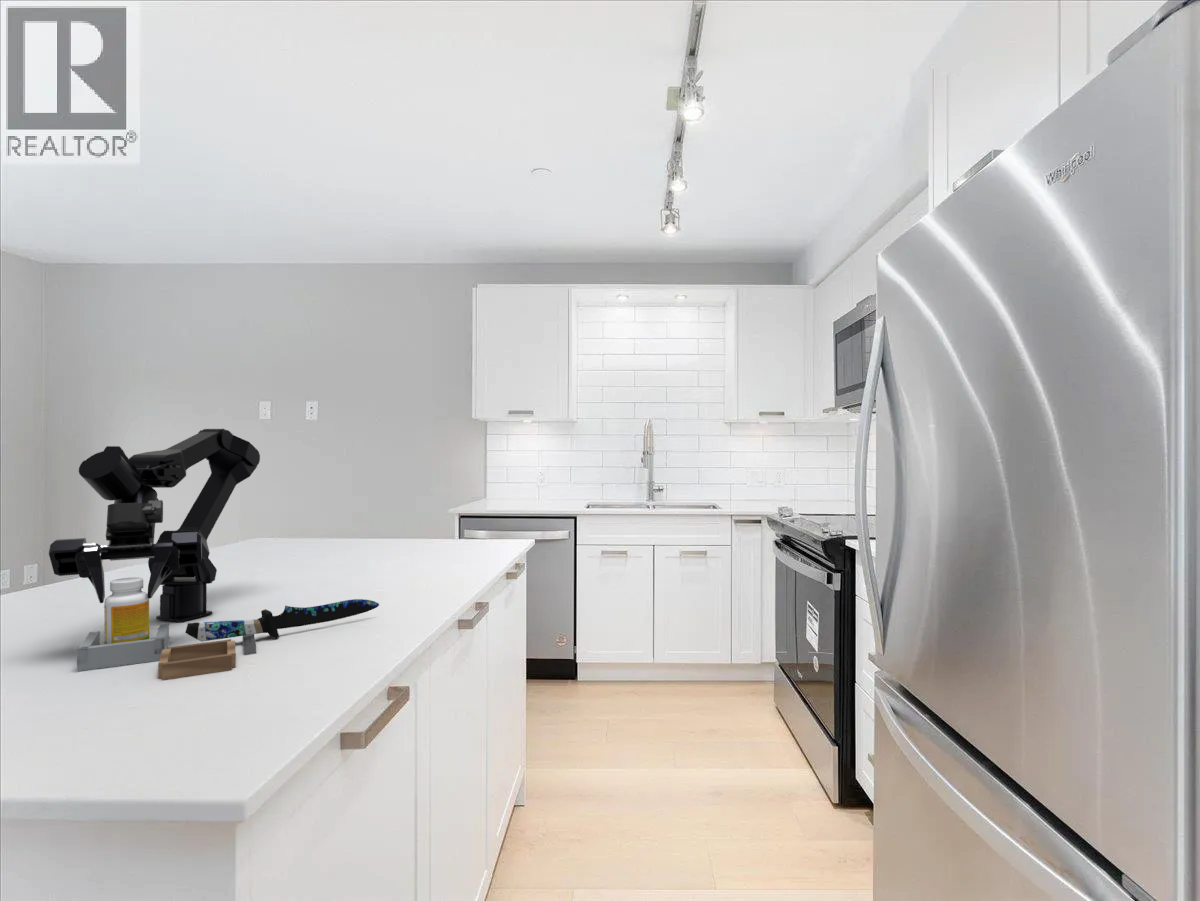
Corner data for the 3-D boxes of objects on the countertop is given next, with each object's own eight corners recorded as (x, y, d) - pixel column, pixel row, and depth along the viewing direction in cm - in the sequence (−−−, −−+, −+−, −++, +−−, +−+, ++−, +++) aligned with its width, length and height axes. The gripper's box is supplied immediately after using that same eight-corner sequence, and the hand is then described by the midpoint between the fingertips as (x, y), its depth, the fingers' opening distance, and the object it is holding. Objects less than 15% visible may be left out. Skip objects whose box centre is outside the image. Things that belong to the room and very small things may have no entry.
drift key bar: (242, 641, 104) (242, 635, 104) (253, 639, 104) (253, 633, 104) (243, 654, 97) (244, 647, 97) (256, 653, 98) (256, 646, 98)
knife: (186, 653, 96) (187, 623, 96) (182, 648, 99) (183, 619, 99) (384, 622, 117) (385, 597, 117) (377, 618, 119) (378, 594, 119)
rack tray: (89, 652, 98) (89, 632, 98) (169, 642, 103) (169, 623, 103) (76, 671, 89) (76, 649, 89) (164, 659, 94) (164, 639, 94)
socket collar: (163, 661, 93) (163, 647, 93) (234, 652, 98) (234, 638, 98) (157, 680, 86) (157, 665, 86) (235, 669, 90) (235, 654, 90)
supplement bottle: (158, 641, 98) (157, 577, 98) (121, 652, 93) (121, 584, 93) (132, 638, 100) (132, 575, 100) (95, 648, 95) (95, 582, 95)
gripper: (51, 485, 95) (32, 573, 85) (201, 481, 104) (199, 560, 95) (63, 532, 102) (46, 619, 92) (202, 525, 111) (200, 603, 102)
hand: (125, 599), depth 95 cm, fingers open, 5 cm apart
